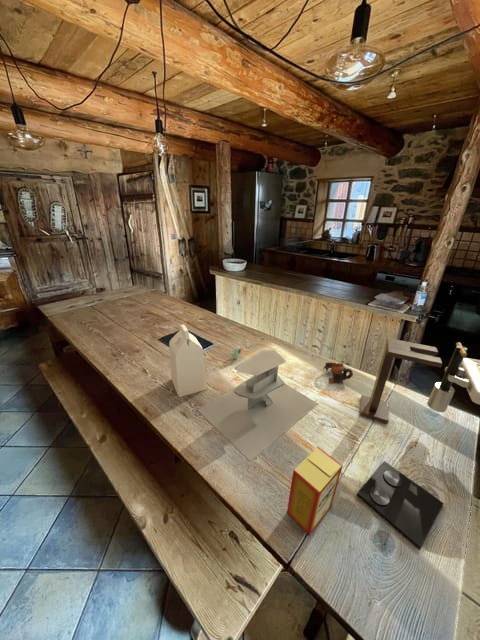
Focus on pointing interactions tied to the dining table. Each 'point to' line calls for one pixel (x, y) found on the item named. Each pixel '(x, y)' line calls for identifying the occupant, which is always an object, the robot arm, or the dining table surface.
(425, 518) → the stove
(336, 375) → the pottery mug
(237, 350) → the robot head
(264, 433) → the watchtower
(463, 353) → the handle in metal cup
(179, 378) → the milk
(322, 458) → the baking soda box
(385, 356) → the stand
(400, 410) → the dining table surface
